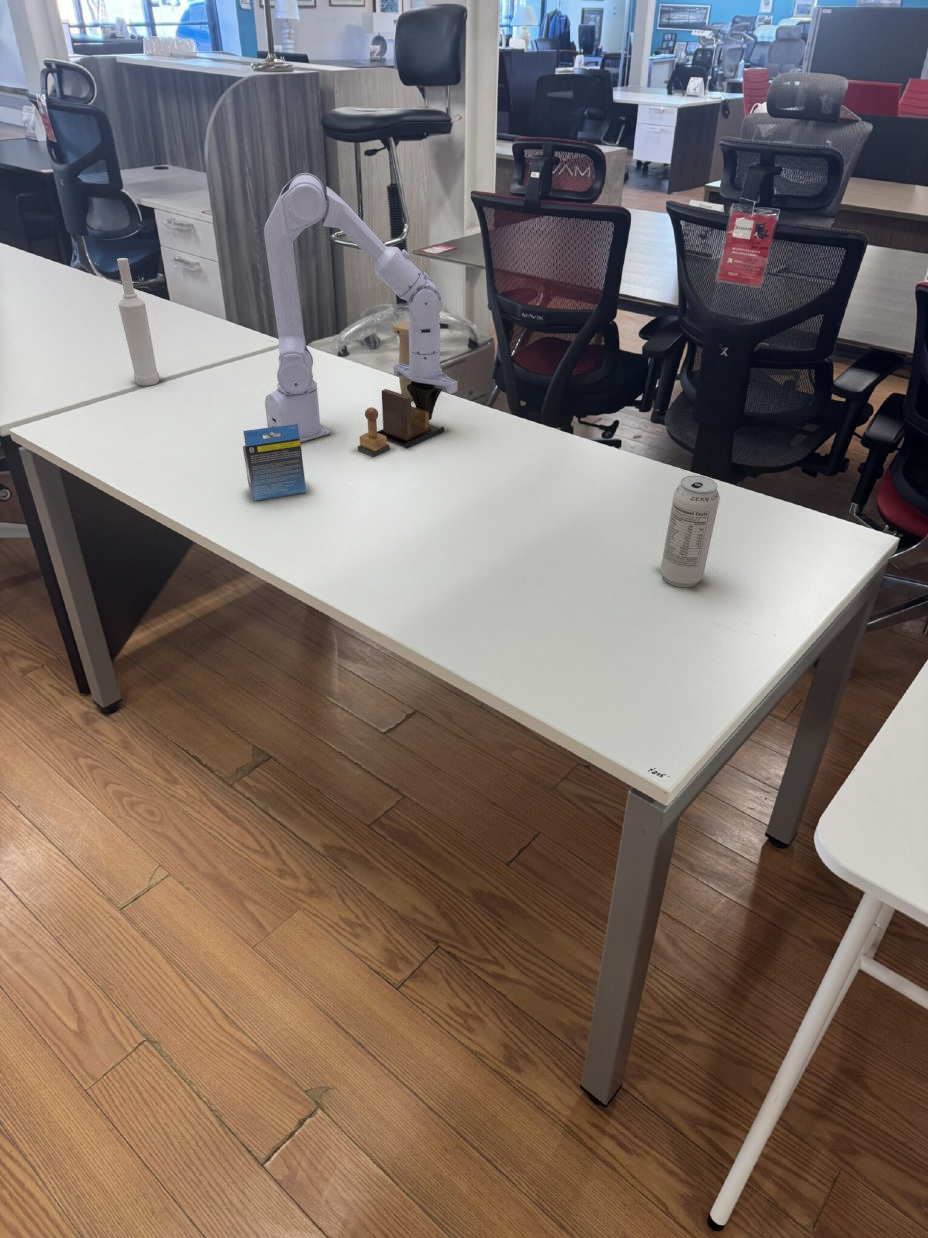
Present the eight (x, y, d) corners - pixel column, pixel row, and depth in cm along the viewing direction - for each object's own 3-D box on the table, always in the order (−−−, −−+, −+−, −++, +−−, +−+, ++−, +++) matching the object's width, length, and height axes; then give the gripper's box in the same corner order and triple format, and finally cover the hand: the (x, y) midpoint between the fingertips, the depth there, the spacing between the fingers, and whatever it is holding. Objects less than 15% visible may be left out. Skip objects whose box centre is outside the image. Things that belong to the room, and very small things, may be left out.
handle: (410, 405, 174) (408, 331, 165) (390, 396, 177) (387, 324, 169) (428, 399, 176) (427, 326, 168) (407, 391, 180) (405, 319, 171)
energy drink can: (709, 577, 122) (730, 482, 113) (688, 594, 118) (708, 498, 109) (673, 562, 125) (690, 469, 116) (651, 578, 121) (667, 483, 113)
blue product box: (301, 483, 144) (294, 414, 137) (306, 493, 141) (299, 423, 134) (249, 491, 141) (238, 421, 134) (253, 501, 138) (242, 430, 131)
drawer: (407, 421, 164) (406, 380, 160) (431, 430, 161) (431, 389, 156) (383, 432, 160) (381, 390, 156) (407, 441, 157) (406, 398, 152)
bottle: (156, 386, 180) (130, 262, 166) (131, 385, 180) (104, 261, 166) (163, 377, 185) (139, 256, 170) (139, 377, 185) (114, 255, 170)
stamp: (385, 414, 157) (361, 402, 151) (401, 420, 155) (377, 408, 149) (369, 455, 158) (345, 445, 152) (385, 462, 156) (361, 452, 150)
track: (414, 420, 167) (413, 415, 167) (444, 431, 163) (444, 426, 162) (376, 436, 161) (376, 431, 160) (407, 448, 156) (407, 443, 156)
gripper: (468, 353, 154) (467, 423, 162) (410, 336, 162) (412, 404, 170) (443, 362, 150) (443, 434, 158) (384, 344, 157) (387, 414, 165)
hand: (425, 419), depth 163 cm, fingers closed, pressing on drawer
